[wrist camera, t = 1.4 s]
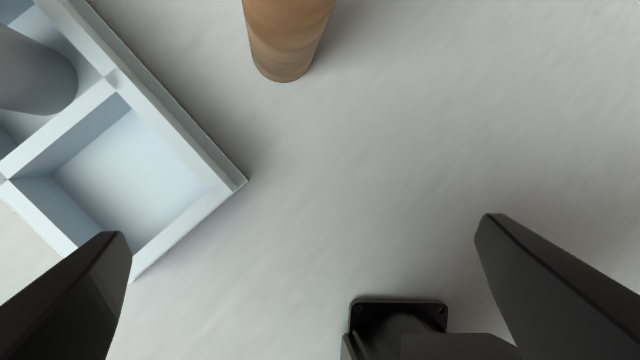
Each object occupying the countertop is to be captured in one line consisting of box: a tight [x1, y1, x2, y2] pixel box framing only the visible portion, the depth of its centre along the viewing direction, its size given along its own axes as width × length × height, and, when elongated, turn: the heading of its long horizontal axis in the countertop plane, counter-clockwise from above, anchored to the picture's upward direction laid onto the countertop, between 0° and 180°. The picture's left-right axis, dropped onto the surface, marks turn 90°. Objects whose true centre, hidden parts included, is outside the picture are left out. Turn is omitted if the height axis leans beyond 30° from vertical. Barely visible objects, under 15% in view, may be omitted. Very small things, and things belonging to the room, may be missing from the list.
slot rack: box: [0, 0, 248, 286], centre depth 17 cm, size 15×9×4 cm, turn 41°
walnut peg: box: [242, 0, 336, 83], centre depth 14 cm, size 4×4×13 cm
